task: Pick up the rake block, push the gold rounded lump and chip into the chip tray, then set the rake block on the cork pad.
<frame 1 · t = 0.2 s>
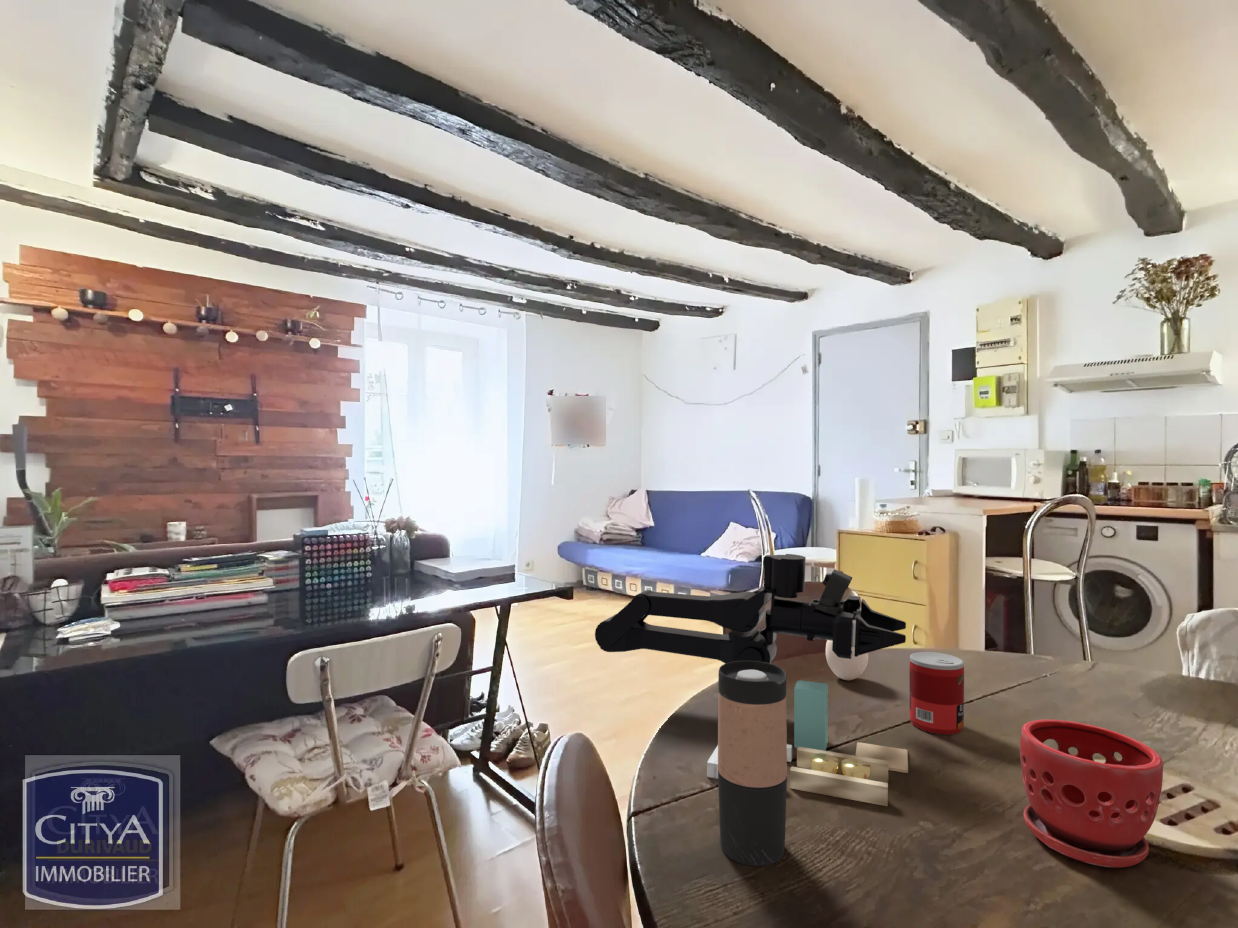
hand: (905, 631, 104), 16 cm above the table, tool horizontal, fingers open, 9 cm apart
rake block: (811, 744, 102), on the table
egg: (846, 680, 131), on the table
slot rails: (839, 783, 89), on the table
plant pot: (1087, 845, 75), on the table
travel mug: (752, 848, 75), on the table
gold rounded lump: (824, 781, 90), on the table
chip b: (855, 786, 89), on the table
canned food: (936, 726, 108), on the table
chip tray: (750, 767, 94), on the table
cork pad: (881, 758, 97), on the table
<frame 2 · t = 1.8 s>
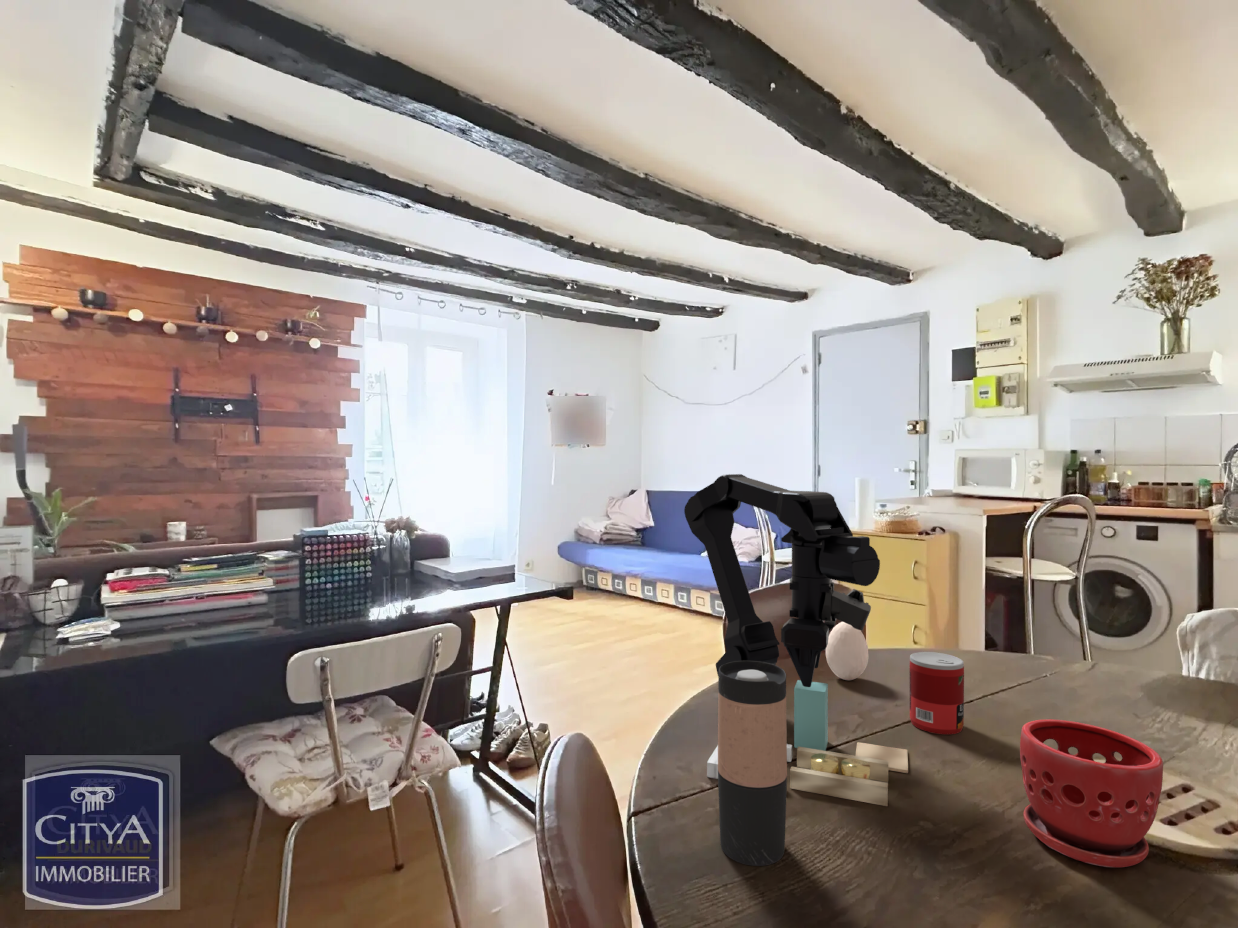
hand: (810, 676, 102), 10 cm above the table, tool pointing down, fingers open, 9 cm apart
nothing on the table moved.
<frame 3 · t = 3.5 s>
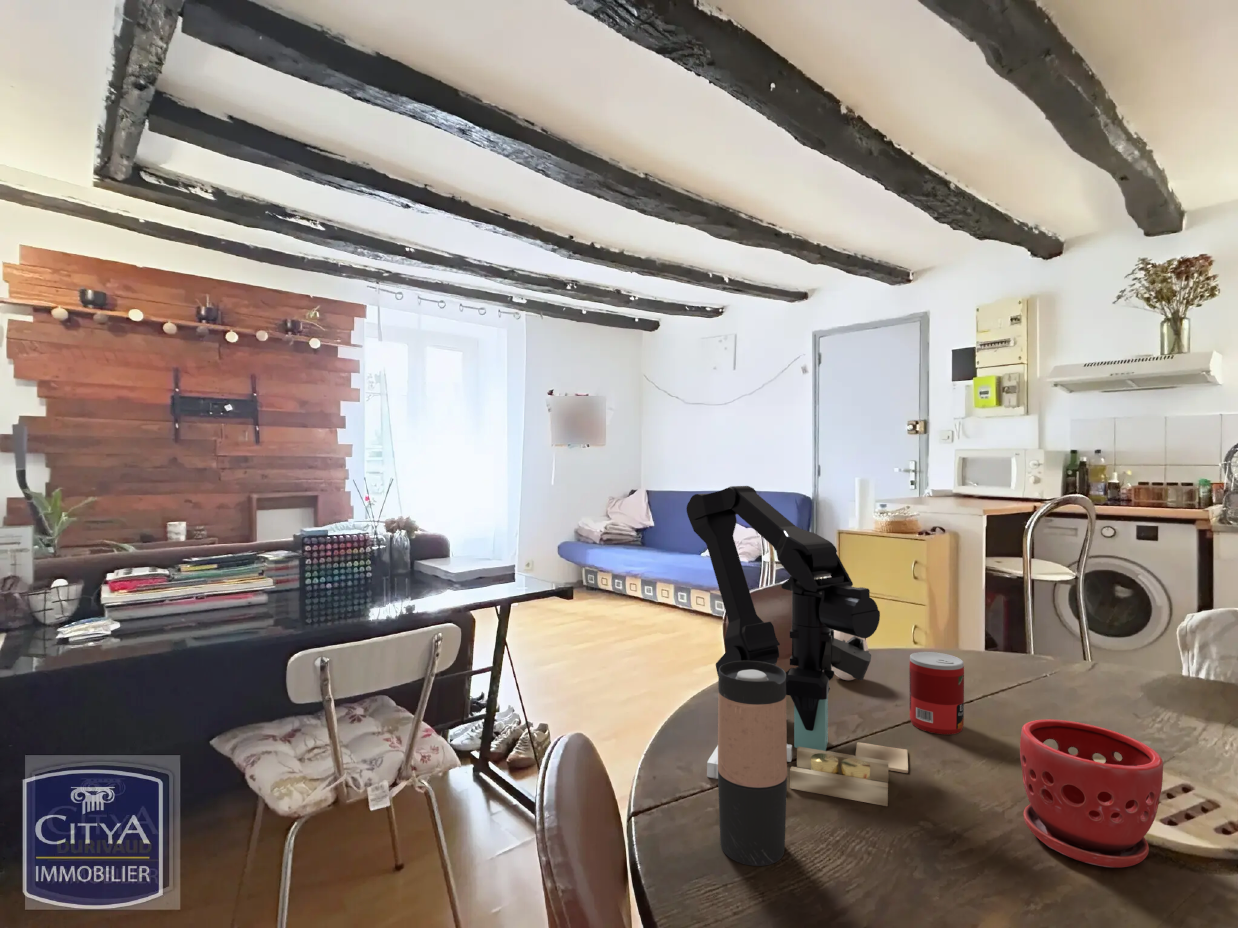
hand: (811, 724, 102), 3 cm above the table, tool pointing down, fingers closed on rake block, 4 cm apart
rake block: (811, 744, 102), on the table, touching gripper
everything else where it was.
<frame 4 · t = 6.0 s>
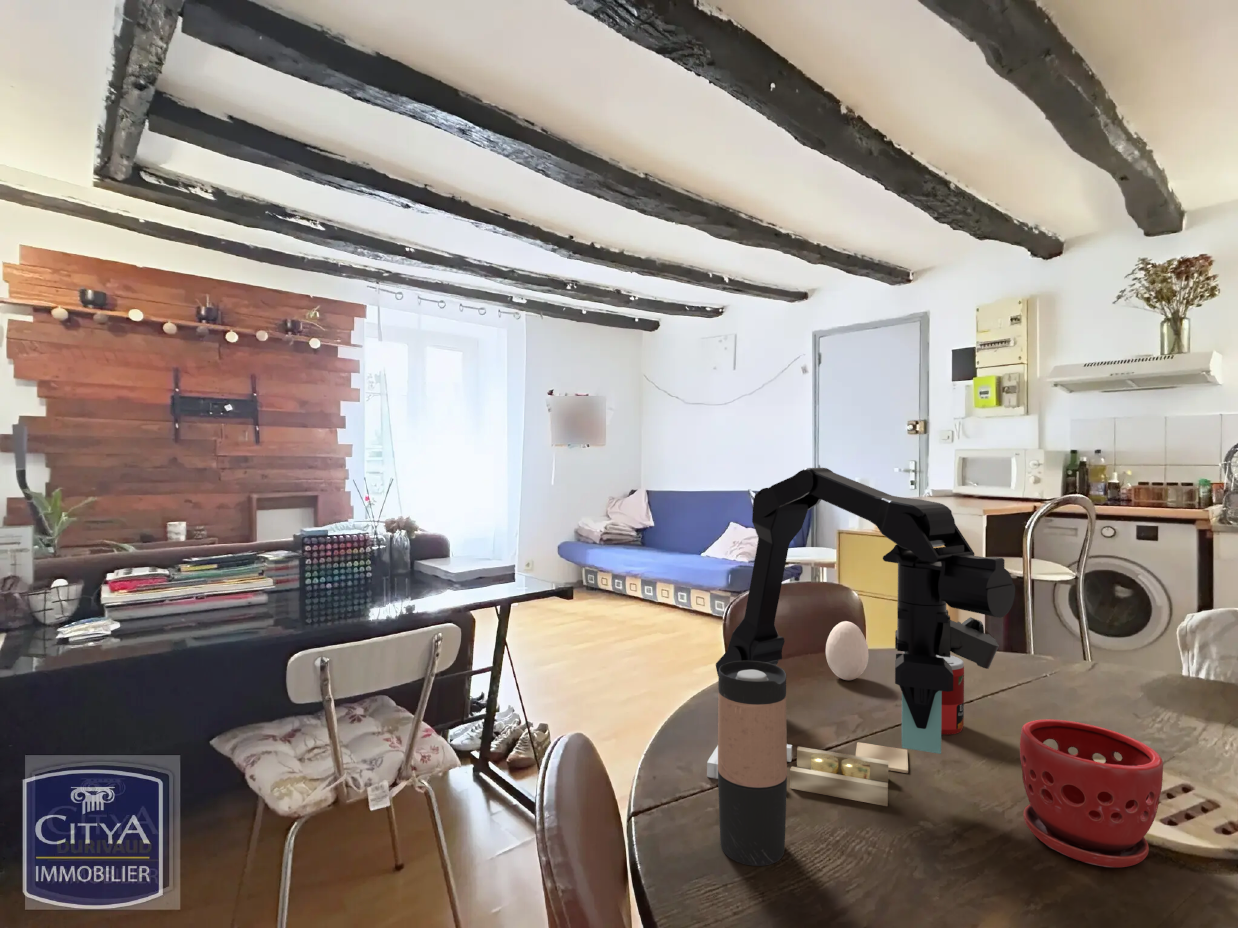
hand: (920, 721, 86), 10 cm above the table, tool pointing down, fingers closed on rake block, 4 cm apart
rake block: (920, 744, 86), point 7 cm above the table, touching gripper
everything else where it was.
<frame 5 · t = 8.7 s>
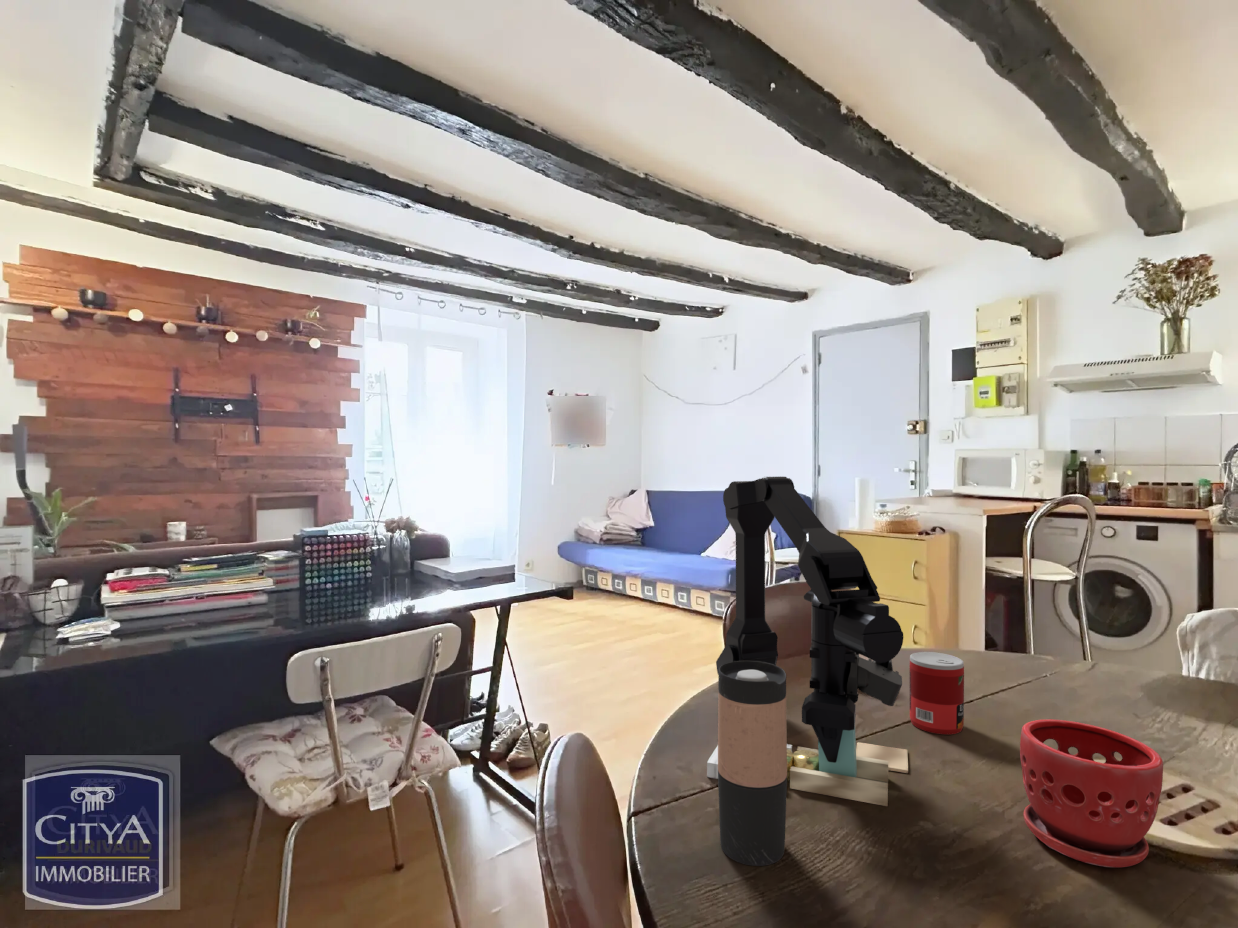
hand: (833, 754, 90), 4 cm above the table, tool pointing down, fingers closed on rake block, 4 cm apart
rake block: (838, 776, 90), point 1 cm above the table, touching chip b, gripper
gold rounded lump: (779, 774, 92), on the table, touching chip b
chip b: (806, 777, 91), on the table, touching gold rounded lump, rake block
everything else where it was.
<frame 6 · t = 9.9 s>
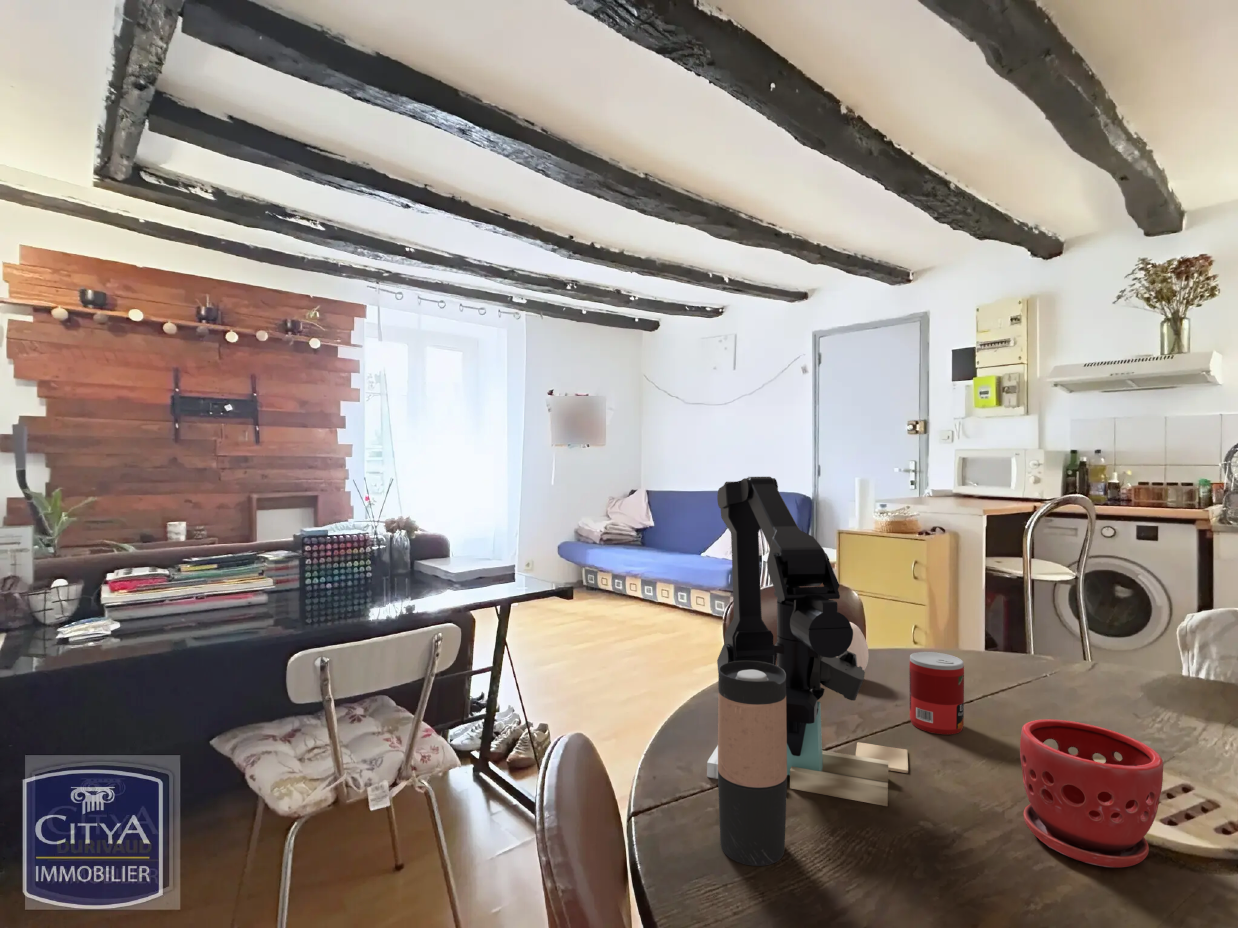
hand: (798, 748, 92), 4 cm above the table, tool pointing down, fingers closed on rake block, 4 cm apart
rake block: (804, 770, 91), point 1 cm above the table, touching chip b, gripper
gold rounded lump: (747, 770, 93), on the table, touching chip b
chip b: (773, 772, 93), on the table, touching gold rounded lump, rake block
everything else where it was.
when the fingers open (4 cm above the table, at t = 13.0 s): rake block drops 1 cm, resting on cork pad.
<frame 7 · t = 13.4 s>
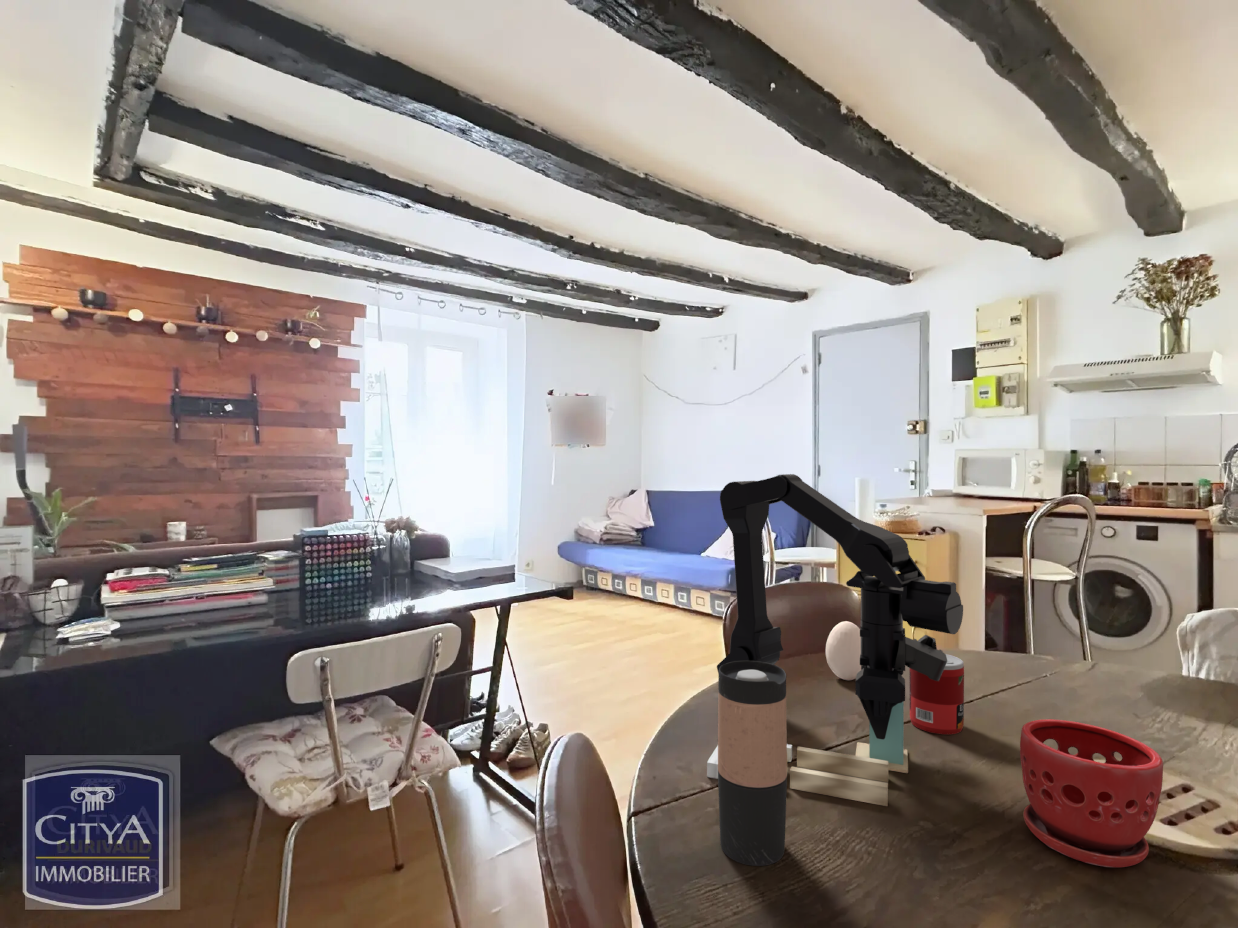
hand: (881, 727, 97), 4 cm above the table, tool pointing down, fingers open, 8 cm apart
rake block: (886, 756, 97), resting on cork pad
gold rounded lump: (747, 771, 93), on the table
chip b: (774, 772, 93), on the table
everything else where it was.
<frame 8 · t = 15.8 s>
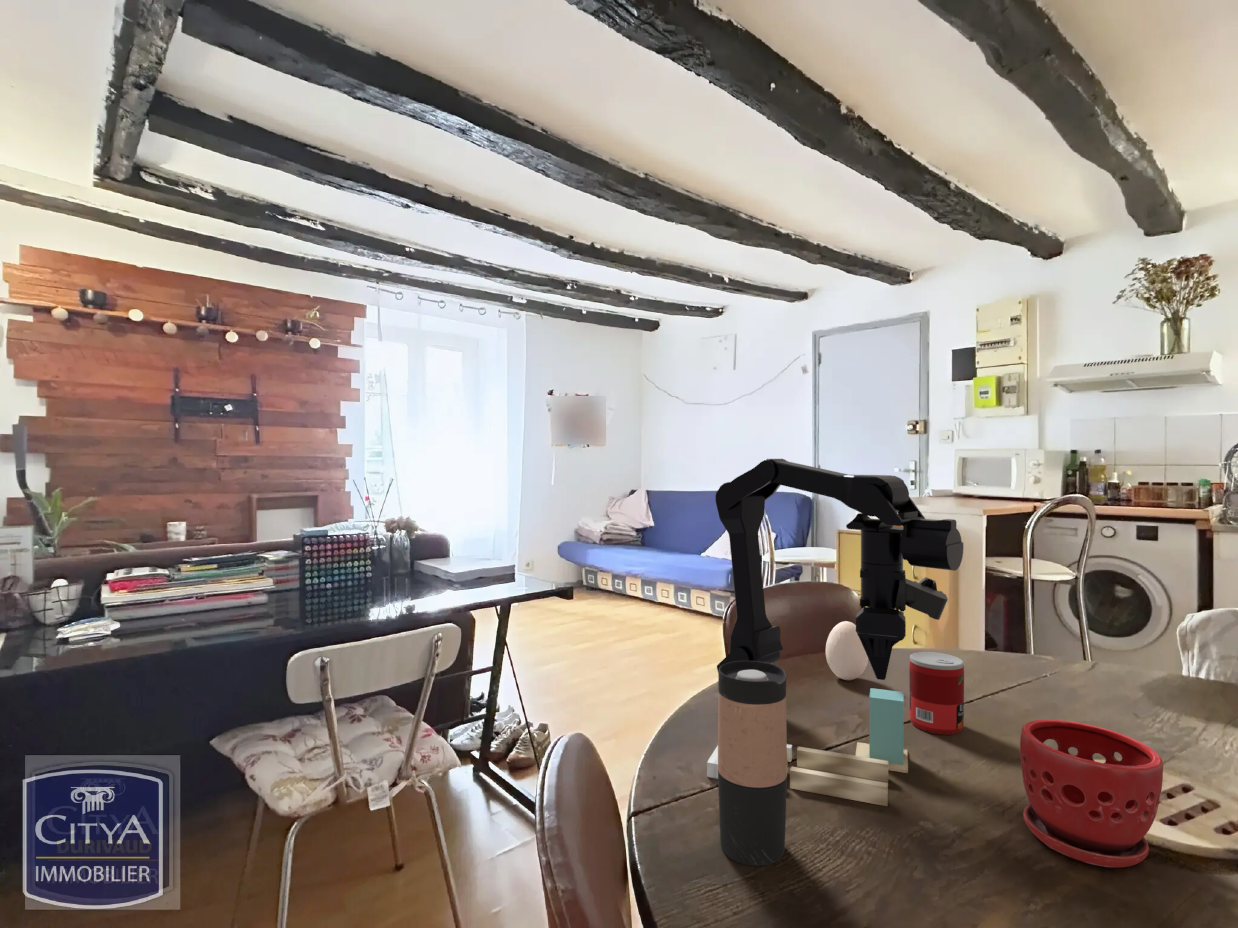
hand: (881, 669, 97), 13 cm above the table, tool pointing down, fingers open, 9 cm apart
nothing on the table moved.
at the end: gold rounded lump inside the target area (1.4 cm from its centre), on the table; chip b inside the target area (3.1 cm from its centre), on the table; rake block inside the target area (0.7 cm from its centre), resting on cork pad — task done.
